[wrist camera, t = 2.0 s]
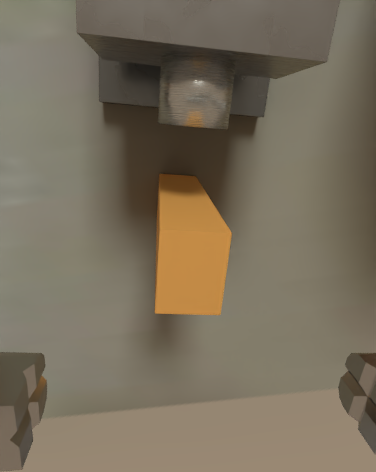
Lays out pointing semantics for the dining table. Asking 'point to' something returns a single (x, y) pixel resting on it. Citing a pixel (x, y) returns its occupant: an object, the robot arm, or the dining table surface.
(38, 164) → the dining table surface
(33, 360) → the robot arm
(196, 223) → the orange rectangular bar
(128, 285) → the dining table surface
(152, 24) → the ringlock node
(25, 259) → the dining table surface
